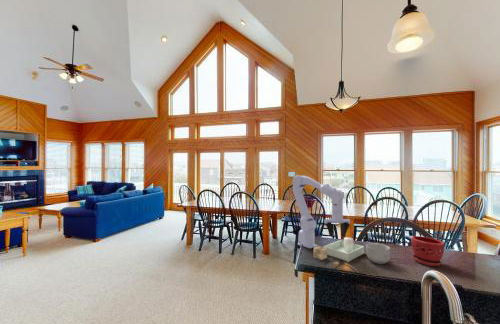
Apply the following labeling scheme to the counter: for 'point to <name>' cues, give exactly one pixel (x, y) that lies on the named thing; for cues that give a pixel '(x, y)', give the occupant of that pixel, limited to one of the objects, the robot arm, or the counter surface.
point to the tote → (338, 251)
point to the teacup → (378, 253)
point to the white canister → (348, 244)
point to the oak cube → (320, 253)
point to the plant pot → (427, 250)
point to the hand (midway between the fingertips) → (337, 236)
